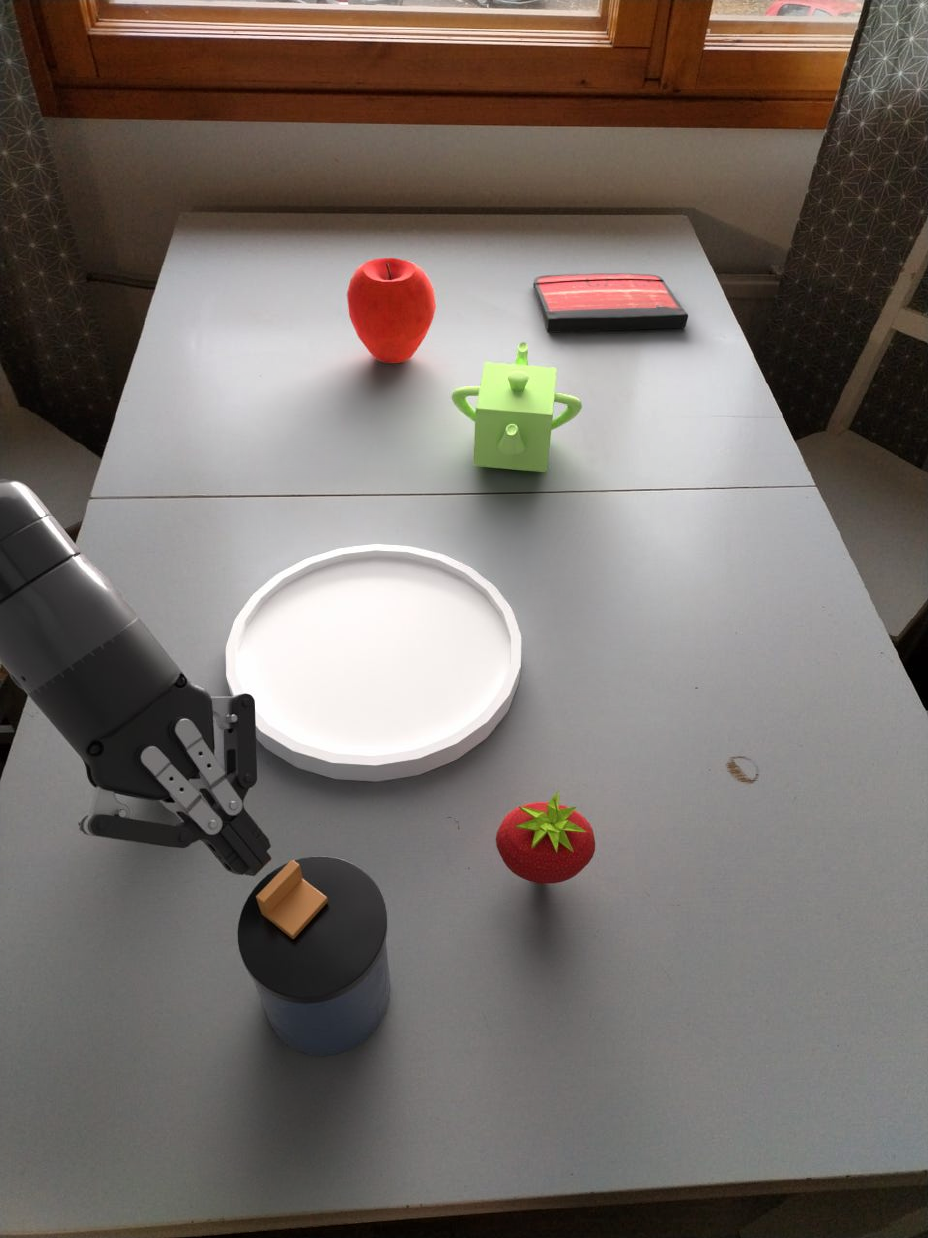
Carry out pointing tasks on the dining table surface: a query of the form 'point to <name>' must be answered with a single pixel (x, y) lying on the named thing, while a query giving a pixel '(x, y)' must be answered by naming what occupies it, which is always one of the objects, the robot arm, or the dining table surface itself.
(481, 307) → the dining table surface
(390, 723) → the plate
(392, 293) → the apple
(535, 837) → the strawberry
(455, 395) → the teapot
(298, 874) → the orange l-shaped block
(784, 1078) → the dining table surface
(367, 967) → the travel cup
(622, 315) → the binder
